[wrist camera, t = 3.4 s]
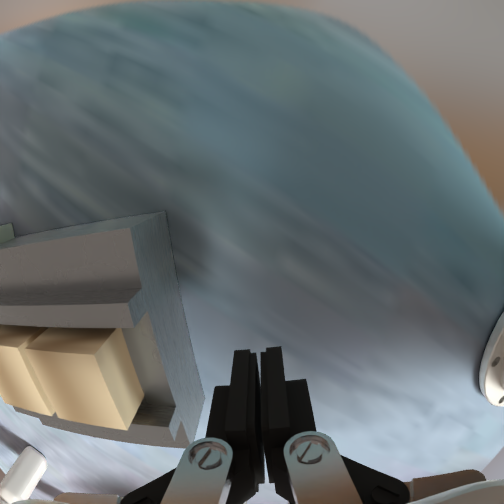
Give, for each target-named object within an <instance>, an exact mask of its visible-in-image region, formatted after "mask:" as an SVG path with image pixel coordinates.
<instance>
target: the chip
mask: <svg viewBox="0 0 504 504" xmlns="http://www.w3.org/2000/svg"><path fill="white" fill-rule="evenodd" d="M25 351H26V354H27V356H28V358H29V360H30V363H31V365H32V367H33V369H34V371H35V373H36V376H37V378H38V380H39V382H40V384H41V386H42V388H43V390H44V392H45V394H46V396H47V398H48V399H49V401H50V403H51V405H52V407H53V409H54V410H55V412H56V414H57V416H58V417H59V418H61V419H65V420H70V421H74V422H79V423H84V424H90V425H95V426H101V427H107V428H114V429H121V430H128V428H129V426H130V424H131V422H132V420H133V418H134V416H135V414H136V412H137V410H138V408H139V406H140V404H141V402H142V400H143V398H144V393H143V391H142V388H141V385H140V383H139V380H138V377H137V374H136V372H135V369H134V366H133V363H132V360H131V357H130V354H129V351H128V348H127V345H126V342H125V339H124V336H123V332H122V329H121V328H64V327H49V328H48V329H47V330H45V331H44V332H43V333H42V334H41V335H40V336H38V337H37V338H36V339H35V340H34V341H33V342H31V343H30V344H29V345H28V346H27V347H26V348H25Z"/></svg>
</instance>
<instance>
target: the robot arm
mask: <svg viewBox="0 0 504 504" xmlns="http://www.w3.org/2000/svg"><path fill="white" fill-rule="evenodd" d="M479 385H480V389H481V392H482V393H483V395H484V396H485V398H486V399H487V400H488V401H489V402H490V403H491V404H492V405H494V406H504V312H503V313H502V315H501V316H500V318H499V320H498V322H497V324H496V326H495V328H494V330H493V332H492V334H491V336H490V339H489V341H488V343H487V346H486V348H485V352H484V355H483V358H482V361H481V367H480V372H479ZM264 452H265V458H266V464H267V471H268V477H269V483H275V490H276V493H277V494H278V495H280V496H281V497H283V498H284V499H286V500H288V504H504V479H499V480H486V479H485V476H484V475H483V474H482V473H481V472H479V471H477V470H473V469H472V470H463V471H458V472H453V473H447V474H442V475H436V476H429V477H422V478H414V479H412V481H411V482H402V481H400V480H398V479H396V478H394V477H391V476H389V475H386V474H384V473H381V472H379V471H376V470H374V469H371V468H369V467H367V466H364V465H362V464H360V463H357V462H355V461H353V460H351V459H349V458H346V457H344V456H342V455H340V454H339V451H338V449H337V447H336V445H335V443H334V441H333V440H332V439H331V438H330V437H329V436H327V435H326V434H324V433H321V432H316V427H315V421H314V416H313V411H312V406H311V401H310V396H309V391H308V386H307V381H306V379H300V380H292V381H285V376H284V367H283V358H282V350H281V346H280V347H270V348H266V352H261V386H260V378H259V371H258V363H257V356H256V353H251V352H250V349H247V350H235V351H234V358H233V366H232V374H231V382H230V385H229V386H216V387H215V389H214V394H213V399H212V404H211V410H210V415H209V421H208V426H207V432H206V437H205V438H203V439H199V440H197V441H194V442H192V443H191V444H190V445H189V446H187V448H186V449H185V451H184V453H183V455H182V457H181V459H180V462H179V464H178V466H177V468H175V469H173V470H171V471H170V472H168V473H166V474H164V475H163V476H161V477H159V478H157V479H155V480H153V481H152V482H150V483H148V484H146V485H144V486H142V487H140V488H138V489H136V490H134V491H132V492H130V493H129V494H127V495H126V496H124V497H119V496H118V495H117V494H86V493H71V492H67V493H62V494H59V495H58V496H57V497H55V498H54V500H53V501H51V500H39V499H30V500H29V499H28V500H20V501H16V502H13V503H11V504H247V500H249V499H250V498H251V497H253V496H254V495H255V494H256V492H258V491H259V484H264V483H265V470H264Z"/></svg>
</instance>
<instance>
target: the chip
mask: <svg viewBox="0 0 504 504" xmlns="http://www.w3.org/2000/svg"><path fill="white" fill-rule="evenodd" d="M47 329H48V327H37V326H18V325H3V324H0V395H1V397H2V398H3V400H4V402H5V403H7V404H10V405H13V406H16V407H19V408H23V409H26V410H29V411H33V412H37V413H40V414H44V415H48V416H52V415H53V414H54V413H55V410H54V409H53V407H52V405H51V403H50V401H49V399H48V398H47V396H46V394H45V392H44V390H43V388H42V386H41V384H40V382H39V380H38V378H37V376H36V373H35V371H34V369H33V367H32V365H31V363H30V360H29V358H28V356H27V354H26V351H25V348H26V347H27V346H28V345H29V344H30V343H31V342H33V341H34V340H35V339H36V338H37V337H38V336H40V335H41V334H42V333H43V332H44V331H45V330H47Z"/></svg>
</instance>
